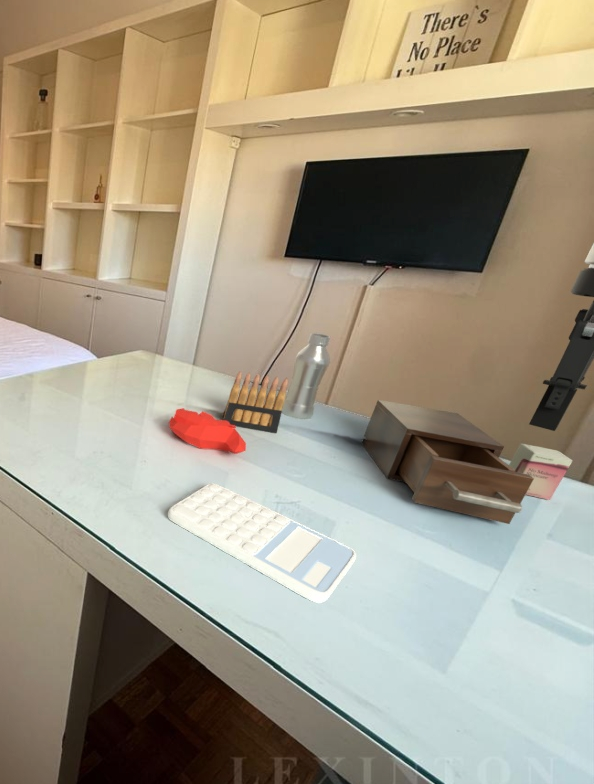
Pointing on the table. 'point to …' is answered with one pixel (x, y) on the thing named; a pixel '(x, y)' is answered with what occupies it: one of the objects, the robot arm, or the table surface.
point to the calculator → (266, 541)
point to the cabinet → (416, 433)
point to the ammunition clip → (255, 404)
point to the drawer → (462, 479)
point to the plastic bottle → (307, 377)
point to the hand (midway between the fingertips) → (542, 426)
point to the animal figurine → (206, 431)
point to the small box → (541, 468)
